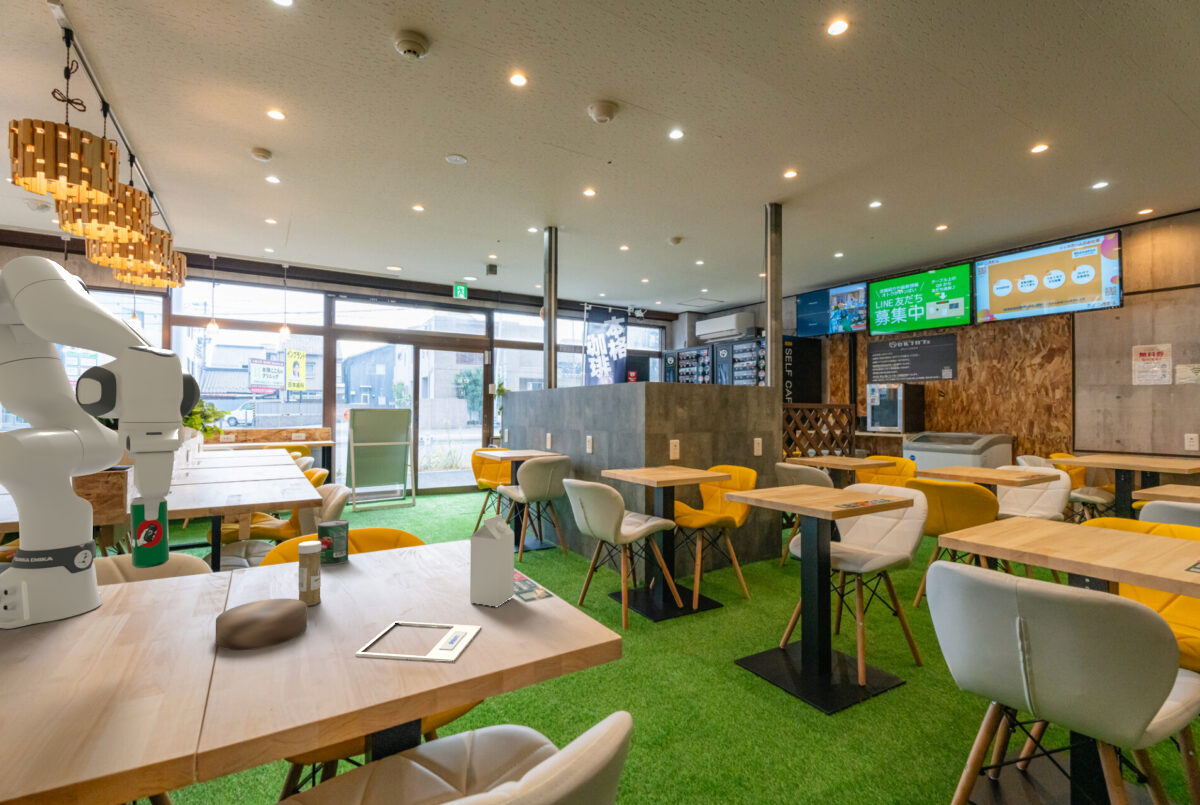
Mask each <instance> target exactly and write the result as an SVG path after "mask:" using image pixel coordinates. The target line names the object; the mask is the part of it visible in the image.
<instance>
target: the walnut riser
mask: <svg viewBox="0 0 1200 805" xmlns="http://www.w3.org/2000/svg"><path fill="white" fill-rule="evenodd" d="M307 613H308V606H307V604H306V603H305V602H303V601H301V600H299V599H298V598H297V599H296V598H272V599H271V598H270V599H263V600H258V601H257V600H256V601H253V602H252V601H251V602H248V603H244V604H240V605H236V606H233V607H231V608H229V609H227V610H225V611H223V612H221V613H220V614H218V615H217V616H216V618H215V645H216V646H217V647H219V648H221V649H225V650H230V651H245V650H255V649H262V648H266V647H271V646H274V645H280V644H282V643H285V642H287V641H290V640H292V639H295V638H296V637H298V636H300V635H301V634H302V633H304V631H306V629H307V627H308V626H307V624H308V623H307V622H308V615H307Z"/></svg>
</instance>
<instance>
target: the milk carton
mask: <svg viewBox="0 0 1200 805" xmlns="http://www.w3.org/2000/svg"><path fill="white" fill-rule="evenodd" d="M502 516H503V515H502V514H501V513H499V514H497V515H494V516H491V517H489V518H486V519H483V525H482V526H481V527H479V528H478V529H477V530H476V531H474V533H473V534H471V535H470V570H469V571H470V573H469V574H470V576H469V577H470V578H469V580H470V581H469V583H470V584H469V588H470V589H469V590H470V591H469V592H470V594H469V602H470V604H473V603H476V604H475V605H479V604H483V605H482V606H485V605H491V606H499V605H500V604H502V603H503V602H505V601H506V600H508V599H509V598H511V597H512V596H513V595H514V596H515V532H514V530H513V529H512V528H511V527H510V526H509V525H508V524H507V523H506V522H505V521H504V519H503V518H502ZM502 605H503V604H502ZM491 606H490V607H491ZM499 607H500V606H499Z"/></svg>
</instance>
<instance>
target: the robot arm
mask: <svg viewBox="0 0 1200 805" xmlns="http://www.w3.org/2000/svg"><path fill="white" fill-rule="evenodd" d="M55 344H56V345H62V346H67V347H71V348H76V349H82V350H87V351H92V352H96V353H100V354H103V355H104V354H105V355H107V356H109V357H113V358H114V360H112V361H109V362H107V363H104V364H101V365H95V366H91V367H89V368H88V369H87V370H85V371H84V372H83V373H81V375H80V376H79V378H78V379H77V381H76V384H75V390H74V389H73V386H72V384H71V382H70V379H69V377H68V374H67V371H66V369H65V367H64V364H63V361H62V359H61V356H60V353H59V351H58V349H57V347H56V345H55ZM181 362H182V361H181V359H180V356H179V354H177V353H176V352H174V351H172V350H170V349H165V348H161V347H156V346H155V345H154V344H152V343H151V342H150V341H149V339H147V338H146V337H145V336H144V335H143V334H142V333H141V332H140V331H138V330H137V329H136V328H135V327H133V325H131V324H129V322H128V323H127V322H126V321H125V320H124V319H122V318H119V317H118V316H117V315H116V314H114V313H112V312H111V311H110V310H108V309H107V308H106V307H104V306H102V304H101V303H99V302H98V301H96V300H95V299H94V298H93V297H92V296H91V294H90V291H89V288H88V286H87V285H86V283H85V282H84V281H83V280H82V279H81V278H80V277H79V276H77V275H75V274H72V273H69V272H68V271H67V270H66V269H64V268H63V267H62V266H61V265H59V264H58V263H57V262H55V261H53V260H51V259H50V258H47V257H43V256H40V255H39V256H37V255H24V256H20V257H15V258H12V259H11V260H10V261H8V262H7V263H5V265H4V266H3V267H2V269H0V405H1V406H2V407H3V408H4V409H5V410H6V411H8V412H9V413H11V414H12V415H15V416H17V417H19V418H21V419H22V420H23V421H25V422H27V424H29V425H30V426H31V427H22V428H17V429H13V430H8V431H4V432H1V433H0V485H1V486H2V487H3V488H4V489H5V490H6V491H7V492H8V493H9V495H10V496H11V498H12V501H13V502H14V504H15V507H16V509H17V513H18V514H17V515H18V524H19V525H18V528H19V547H18V548H17V549H16V550H12V551H8V552H6V554H7V556H6V559H9V558H12V560H11V562H10V565H9V566H10V567H9V568H7V569H5V570H4V571H2V573H0V629H7V630H8V629H15V628H20V627H24V626H29V625H33V624H39V623H45V622H53V621H58V620H62V619H66V618H70V617H75V616H78V615H80V614H81V615H82V614H84V613H86V612H87V613H88V612H90V611H92V610H94V609H96V608H98V607H100V606H101V605H102V604H103V601H102V599H101V598H102V593H101V591H99V586H98V579H97V571H96V564H95V563H94V559H95V558H94V557H95V556H96V548H97V545H96V540H95V539H93V526H94V524H93V523H94V522H93V521H94V515H93V514H94V511H93V510H94V508H93V505H92V504H91V502H90V501H88V500H87V499H86V498H83V497H81V496H79V495H77V493H76V492H75V491H74V489H73V486H72V484H71V478H72V477H73V478H74V477H81V476H87V475H89V476H90V475H93V474H97V473H99V472H102V471H105V470H108V469H110V468H111V469H112V468H113V467H115V466H117V465H118V464H119V463H120V462H121V460H122V458H123V456H124V453H125V451H127V452H126V453H127V456H126V457H127V459H131V460H133V484H134V485H135V488H136V490H137V492H138V494H139V497H142V498H144V508H145V509H144V518H145V520H147V521H149V520H156V519H157V518H158V509H159V504H160V497H164V498H165V497H167V496H168V495H169V493H170V490H171V486H172V484H171V483H172V477H173V470H174V462H175V452H178V451H179V449H180V448H182V447H183V421H184V420H183V419H184V417H186V416H187V415H189V414H190V413H191V412H193V410H194V409H195V408H196V407H197V405H198V404H199V401H200V399H201V390H200V386H199V383H198V382H197V380H196V379H195V377H194V376H193V375H192V373H190V372H189V371H188V370H187V369H184V368H183V367H182V364H181ZM96 417H97V418H101V419H118V424H117V427H118V430H117V432H116V431H115V430H113V429H111V428H110V427H107V426H106V425H105V424H102V423H101V421H99V420H98V419H97V418H96ZM8 554H9V555H8Z"/></svg>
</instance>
